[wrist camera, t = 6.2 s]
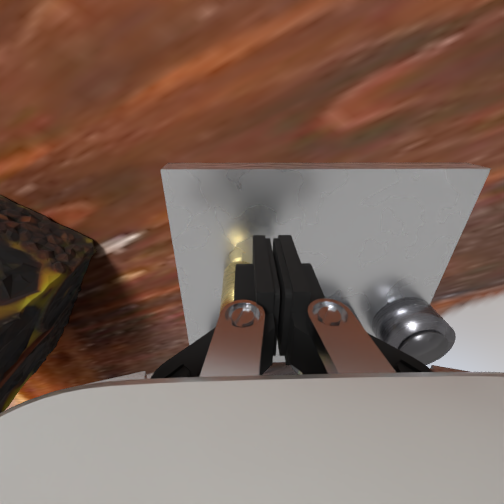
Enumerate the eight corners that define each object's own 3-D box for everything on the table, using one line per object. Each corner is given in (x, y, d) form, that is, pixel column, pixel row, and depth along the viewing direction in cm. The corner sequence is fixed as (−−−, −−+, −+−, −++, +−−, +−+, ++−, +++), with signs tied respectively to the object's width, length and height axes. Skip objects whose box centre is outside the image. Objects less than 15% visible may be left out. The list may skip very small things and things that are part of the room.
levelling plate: (476, 162, 14) (557, 182, 10) (400, 342, 21) (433, 391, 17) (168, 163, 13) (142, 184, 10) (195, 348, 20) (186, 399, 17)
